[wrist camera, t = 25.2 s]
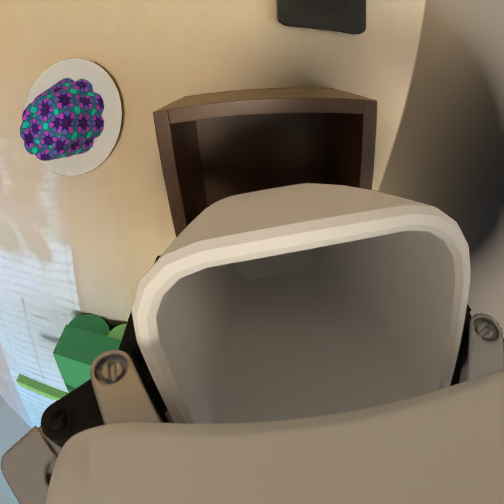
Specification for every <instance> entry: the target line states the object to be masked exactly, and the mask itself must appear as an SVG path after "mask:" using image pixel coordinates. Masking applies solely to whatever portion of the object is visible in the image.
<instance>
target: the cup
mask: <svg viewBox="0 0 504 504" xmlns="http://www.w3.org/2000/svg"><path fill="white" fill-rule="evenodd" d="M469 284H470V259H469V247H468V244H467V242H466V240H465V238H464V236H463V234H462V232H461V230H460V228H459V226H458V224H457V222H456V221H454V220H453V219H452V218H450V217H449V216H447V215H446V214H444V213H443V212H442V211H440V210H439V209H438V208H436V207H433V206H430V205H426V204H423V203H419V202H416V201H412V200H408V199H404V198H401V197H397V196H393V195H389V194H385V193H381V192H377V191H373V190H368V189H362V188H356V187H350V186H344V185H332V184H315V183H304V184H296V185H290V186H283V187H278V188H272V189H266V190H260V191H255V192H249V193H244V194H238V195H233V196H229V197H227V198H224V199H222V200H219V201H217V202H215V203H214V204H212V205H210V206H209V207H207V208H206V209H205V210H204V211H203V212H201V213H200V214H199V215H198V216H197V217H196V218H195V219H194V220H193V221H192V222H191V223H190V224H189V225H188V226H187V227H186V228H185V229H184V230H183V231H182V232H181V233H180V234H179V235H178V237H177V238H176V239H175V240H174V241H173V242H172V243H171V245H170V246H169V247H168V248H167V249H166V250H165V252H164V253H163V254H162V255H161V256H160V258H159V259H158V260H157V261H156V262H155V264H154V265H153V266H152V267H151V268H150V270H149V271H148V272H147V273H146V274H145V276H144V277H143V278H142V279H141V280H140V283H139V287H138V290H137V293H136V297H135V301H134V304H133V308H132V317H133V323H134V328H135V334H136V339H137V343H138V345H139V348H140V350H141V352H142V355H143V357H144V359H145V362H146V364H147V366H148V369H149V371H150V373H151V375H152V378H153V380H154V382H155V384H156V386H157V388H158V391H159V393H160V395H161V397H162V399H163V401H164V403H165V405H166V407H167V409H168V411H169V413H170V415H171V417H172V419H173V421H174V423H182V424H230V423H255V422H271V421H283V420H293V419H302V418H310V417H318V416H325V415H332V414H338V413H344V412H350V411H355V410H361V409H366V408H371V407H375V406H380V405H384V404H389V403H393V402H397V401H401V400H405V399H409V398H413V397H416V396H420V395H424V394H427V393H430V392H434V391H437V390H440V389H443V388H447V387H450V384H451V380H452V376H453V373H454V369H455V365H456V360H457V356H458V352H459V347H460V342H461V337H462V332H463V326H464V321H465V314H466V308H467V301H468V293H469Z"/></svg>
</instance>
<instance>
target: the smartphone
mask: <svg viewBox="0 0 504 504" xmlns="http://www.w3.org/2000/svg"><path fill="white" fill-rule="evenodd" d="M277 1H278V19H279V21H280V22H281V23H282V24H284V25H287V26H297V27H307V28H316V29H324V30H332V31H339V32H345V33H351V34H361V33H363V32H364V31H365V29H366V0H277Z"/></svg>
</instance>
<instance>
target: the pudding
mask: <svg viewBox="0 0 504 504" xmlns="http://www.w3.org/2000/svg"><path fill="white" fill-rule="evenodd" d="M121 119H122V109H121V101H120V97H119V93H118V90H117V88H116V86H115V83H114V82H113V80H112V79H111V77H110V76H109V74H108V73H107V72H106V71H105V70H104V69H103V68H102V67H100V66H99V65H97V64H96V63H94V62H91V61H89V60H86V59H80V58H71V59H65V60H62V61H59V62H57V63H55V64H53V65H51V66H50V67H48V68H47V69H46V70H44V71H43V72H42V73H41V74H40V76H39V77H38V78H37V79H36V80H35V82H34V83H33V85H32V87H31V89H30V91H29V93H28V95H27V98H26V102H25V105H24V112H23V115H22V120H23V123H22V124H21V126H20V135H21V138H22V139H23V140H24V146H25V148H26V150H27V151H28V152H29V153H30V154H33V155H34V156H35V158H36V159H37V160H38V161H39V162H40V163H41V164H42V165H43V166H45V167H46V168H47V169H49V170H51V171H53V172H54V173H57V174H61V175H66V176H76V175H81V174H85V173H88V172H90V171H91V170H93V169H95V168H96V167H98V166H99V165H100V164H101V163H103V161H104V160H105V159H106V158H107V157H108V156H109V154H110V153H111V151H112V149H113V148H114V146H115V144H116V141H117V139H118V136H119V132H120V128H121Z"/></svg>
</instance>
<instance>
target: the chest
mask: <svg viewBox="0 0 504 504" xmlns="http://www.w3.org/2000/svg"><path fill="white" fill-rule="evenodd" d="M153 117H154V123H155V129H156V136H157V142H158V147H159V153H160V159H161V164H162V170H163V175H164V180H165V186H166V191H167V196H168V201H169V205H170V210H171V215H172V219H173V224H174V229H175V233H176V237H178V235H179V234H180V233H181V232H182V231H183V230H184V229H185V228H186V227H187V226H188V225H189V224H190V223H191V222H192V221H193V220H194V219H195V218H196V217H197V216H198V215H199V214H200V213H201V212H203V211H204V210H205V209H206V208H207V207H209V206H210V205H212V204H214V203H215V202H217V201H219V200H222V199H224V198H227V197H229V196H233V195H238V194H244V193H249V192H255V191H260V190H266V189H272V188H278V187H283V186H290V185H296V184H304V183H315V184H332V185H344V186H350V187H356V188H362V189H368V190H371V189H372V179H373V168H374V155H375V140H376V119H377V101H376V100H373V99H370V98H366V97H363V96H359V95H356V94H352V93H348V92H344V91H340V90H336V89H332V88H269V89H251V90H237V91H226V92H217V93H208V94H200V95H193V96H186V97H183V98H181V99H179V100H177V101H174V102H172V103H170V104H168V105H166V106H164V107H162V108H160V109H158V110H156V111H154V112H153Z"/></svg>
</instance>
